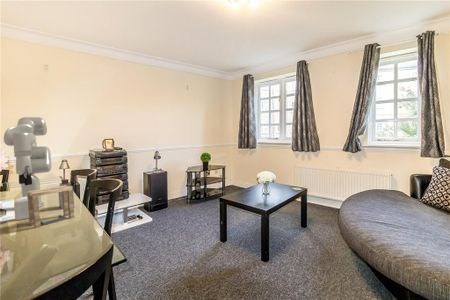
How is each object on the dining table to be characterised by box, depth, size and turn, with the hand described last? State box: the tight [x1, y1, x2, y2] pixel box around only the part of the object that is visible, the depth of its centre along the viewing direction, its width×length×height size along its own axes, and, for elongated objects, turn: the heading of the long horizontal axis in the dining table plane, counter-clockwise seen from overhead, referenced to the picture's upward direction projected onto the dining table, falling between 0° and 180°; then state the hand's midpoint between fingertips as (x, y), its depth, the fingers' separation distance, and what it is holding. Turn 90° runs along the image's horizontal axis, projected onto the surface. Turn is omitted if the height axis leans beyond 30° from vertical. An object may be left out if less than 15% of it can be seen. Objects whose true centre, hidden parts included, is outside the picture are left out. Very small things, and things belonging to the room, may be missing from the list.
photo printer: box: [13, 196, 29, 221], centre depth 136 cm, size 10×4×12 cm, turn 123°
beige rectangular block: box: [57, 178, 75, 210], centre depth 157 cm, size 7×7×18 cm
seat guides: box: [40, 214, 67, 226], centre depth 131 cm, size 8×11×2 cm
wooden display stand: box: [27, 185, 75, 229], centre depth 130 cm, size 9×18×18 cm, turn 145°
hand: (25, 184), depth 136 cm, fingers open, 9 cm apart
